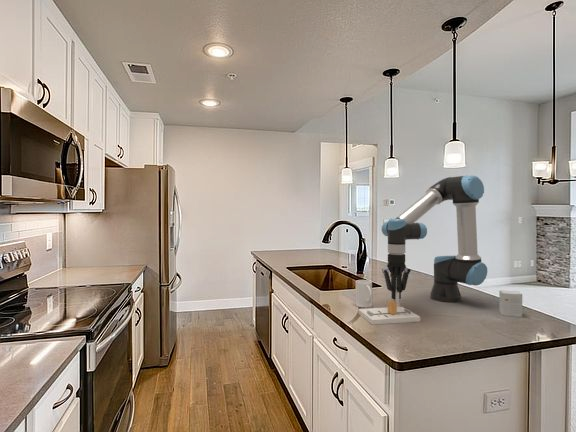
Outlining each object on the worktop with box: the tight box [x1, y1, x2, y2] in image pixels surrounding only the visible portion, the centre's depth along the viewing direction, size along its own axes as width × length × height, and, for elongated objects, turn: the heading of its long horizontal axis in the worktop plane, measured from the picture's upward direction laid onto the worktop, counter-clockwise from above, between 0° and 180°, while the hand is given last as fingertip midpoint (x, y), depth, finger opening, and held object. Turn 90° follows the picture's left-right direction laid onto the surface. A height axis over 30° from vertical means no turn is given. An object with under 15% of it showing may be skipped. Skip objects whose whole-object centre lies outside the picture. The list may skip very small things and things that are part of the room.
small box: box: [498, 289, 523, 318], centre depth 160 cm, size 8×6×10 cm
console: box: [357, 306, 421, 325], centre depth 157 cm, size 22×16×3 cm
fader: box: [386, 299, 397, 314], centre depth 157 cm, size 2×4×5 cm, turn 10°
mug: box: [354, 279, 373, 308], centre depth 176 cm, size 12×8×12 cm
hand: (396, 306), depth 157 cm, fingers closed
